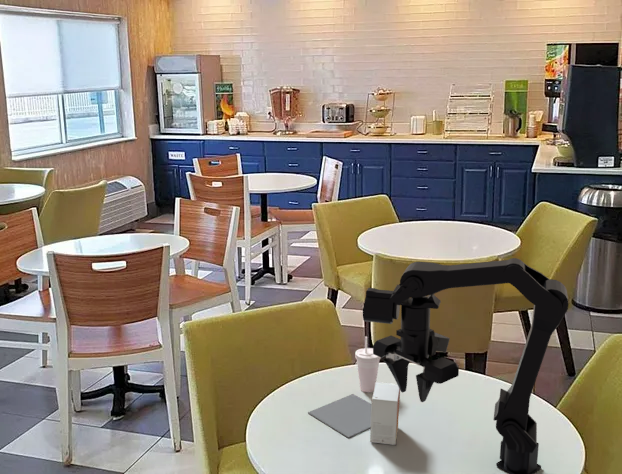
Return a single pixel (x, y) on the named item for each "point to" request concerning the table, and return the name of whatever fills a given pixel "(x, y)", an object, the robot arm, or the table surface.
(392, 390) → the small box
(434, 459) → the table surface
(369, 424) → the mat
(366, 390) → the smoothie
